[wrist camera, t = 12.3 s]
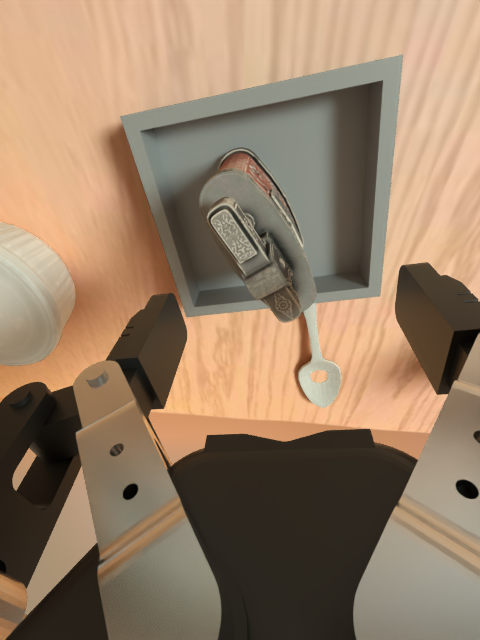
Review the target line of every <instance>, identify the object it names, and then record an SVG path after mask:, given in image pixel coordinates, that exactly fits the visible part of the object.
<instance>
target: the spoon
mask: <svg viewBox="0 0 480 640" xmlns="http://www.w3.org/2000/svg"><path fill="white" fill-rule="evenodd" d="M303 312H304V315H305V318H306V322H307V327H308V332H309V336H310V342H311V349H312V358H311V361H309V362H308V363H306V364H305V365H303V366H302V367H301V368H300V369H299V371H298V381H299V384H300V386H301V388H302V390H303V392H304V393H305V395H306V396H307V398H308V399H309V400H310V401H311V402H312V403H314V404H315V405H317V406H320V407H323V408H324V407H327V406H329V405H330V404H331V403H332V402H333V401H334V400H335V398H336V397H337V395H338V392H339V389H340V384H341V371H340V368H339V366H338V365H337V364H335V363H334V362H331V361H328V360H326V359H324V358H323V357H322V354H321V350H320V345H319V339H318V330H317V320H316V303H313V304H312V305H311V306H310V307H309V308H308V309H307V310H305V311H303ZM317 370H324V371H326V372H328V378H327V380H326V381H324V382H322V383H317V382H313V381H312V378H311V376H310V374H311V373H312V372H314V371H317Z"/></svg>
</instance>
